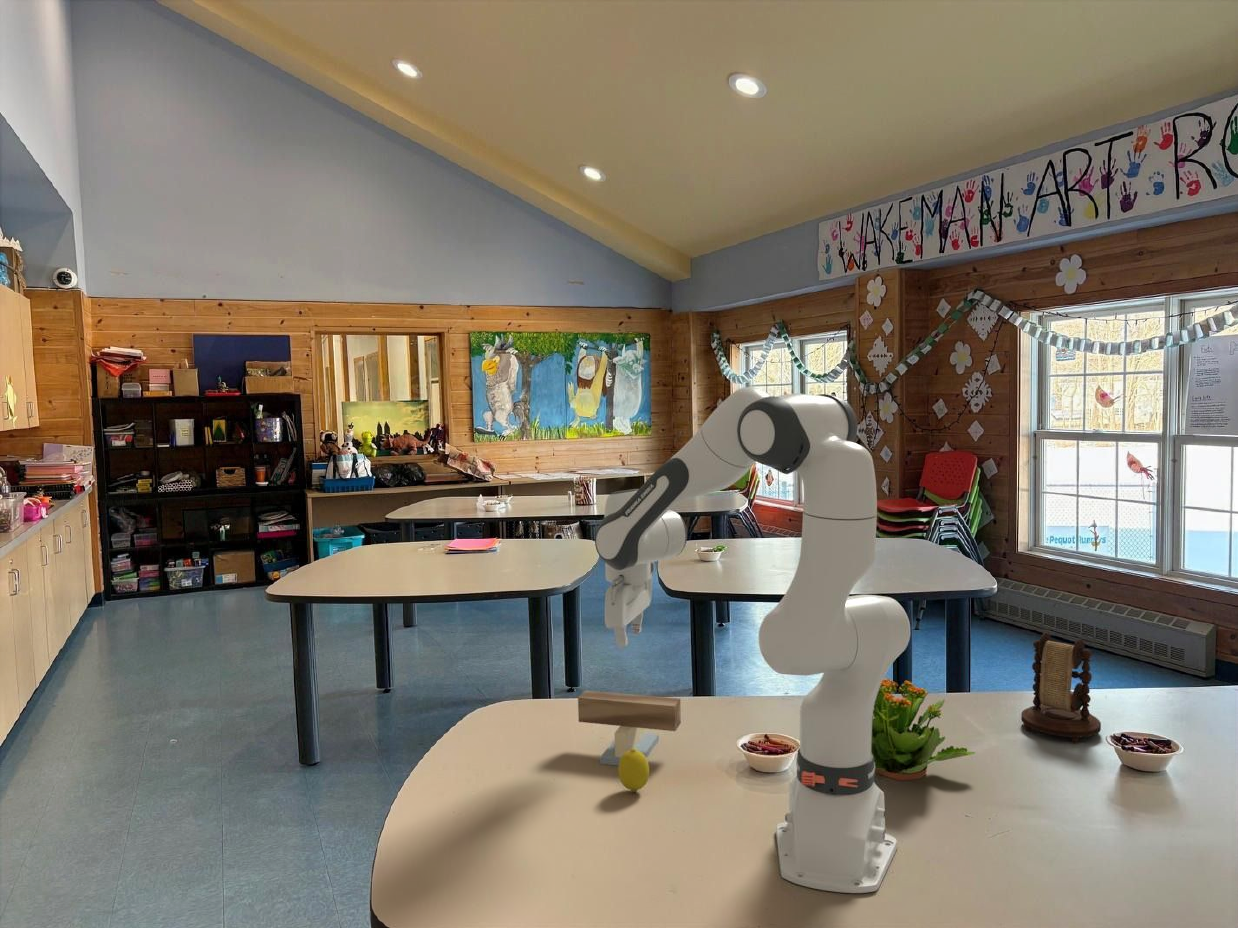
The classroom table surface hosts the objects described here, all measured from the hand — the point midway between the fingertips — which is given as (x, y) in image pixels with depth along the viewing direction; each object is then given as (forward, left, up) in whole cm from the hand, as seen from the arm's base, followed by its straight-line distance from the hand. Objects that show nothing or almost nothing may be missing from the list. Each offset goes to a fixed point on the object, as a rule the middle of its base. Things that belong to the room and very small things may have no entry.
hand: (629, 639), depth 178 cm
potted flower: (+4, -52, -23) cm, 57 cm away
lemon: (-17, -6, -23) cm, 29 cm away
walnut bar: (0, 0, -17) cm, 17 cm away
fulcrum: (0, 0, -23) cm, 23 cm away
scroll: (+33, -83, -23) cm, 92 cm away
